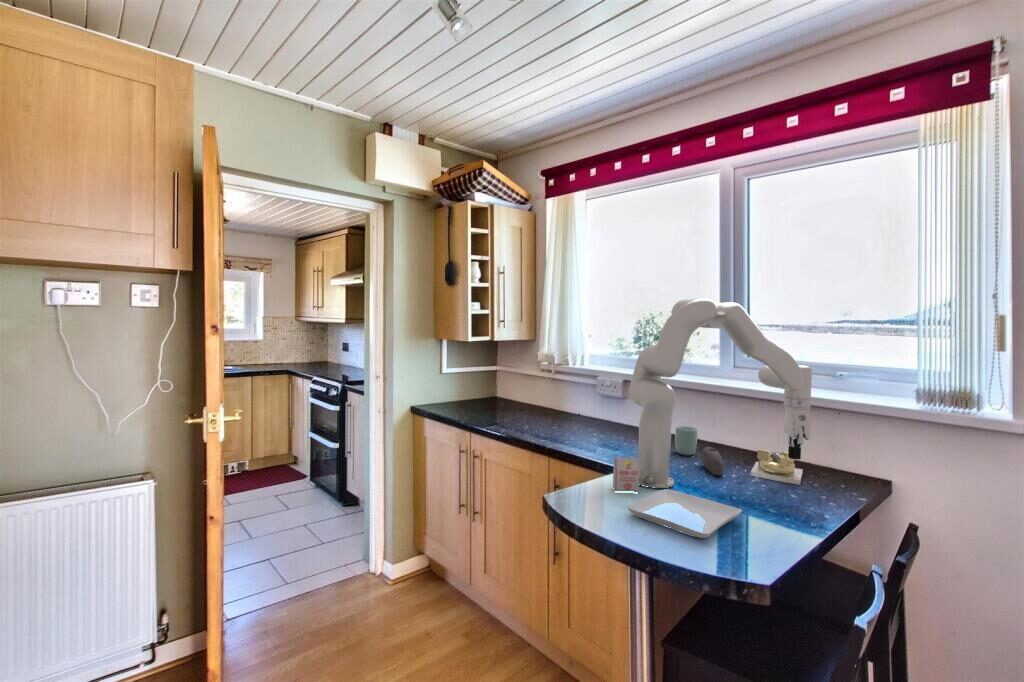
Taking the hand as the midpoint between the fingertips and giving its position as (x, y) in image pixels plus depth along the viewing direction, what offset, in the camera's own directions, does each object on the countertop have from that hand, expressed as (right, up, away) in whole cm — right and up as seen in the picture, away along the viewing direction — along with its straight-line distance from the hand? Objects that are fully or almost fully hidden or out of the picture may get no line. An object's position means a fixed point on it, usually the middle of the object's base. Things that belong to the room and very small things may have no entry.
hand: (794, 458), depth 159 cm
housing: (-4, -6, +2) cm, 8 cm away
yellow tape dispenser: (-5, -4, +2) cm, 7 cm away
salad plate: (-49, -7, -36) cm, 61 cm away
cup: (-27, -5, +24) cm, 37 cm away
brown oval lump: (-25, -6, +4) cm, 26 cm away
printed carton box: (-60, -6, -18) cm, 62 cm away
